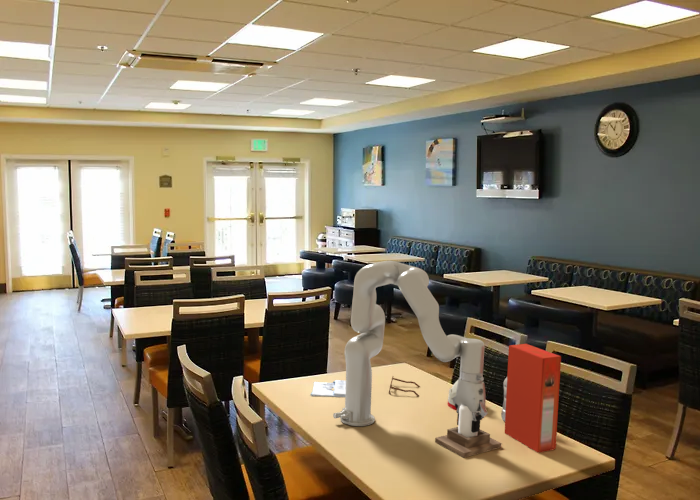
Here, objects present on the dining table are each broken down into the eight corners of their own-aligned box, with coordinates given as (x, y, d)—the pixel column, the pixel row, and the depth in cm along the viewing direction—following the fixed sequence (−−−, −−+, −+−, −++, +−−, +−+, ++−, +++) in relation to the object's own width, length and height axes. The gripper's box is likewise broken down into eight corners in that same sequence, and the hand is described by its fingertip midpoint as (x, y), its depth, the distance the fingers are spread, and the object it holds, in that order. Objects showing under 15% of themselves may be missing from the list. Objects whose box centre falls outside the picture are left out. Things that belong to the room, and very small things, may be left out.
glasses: (390, 385, 270) (390, 374, 269) (420, 387, 268) (420, 376, 268) (388, 395, 257) (388, 383, 256) (419, 397, 255) (420, 385, 255)
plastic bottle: (498, 418, 233) (501, 367, 231) (515, 418, 233) (518, 367, 231) (504, 425, 226) (507, 372, 224) (521, 425, 227) (525, 372, 225)
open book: (358, 399, 251) (358, 394, 251) (309, 397, 251) (309, 392, 251) (358, 384, 270) (358, 380, 270) (312, 383, 270) (313, 378, 270)
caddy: (463, 457, 197) (464, 444, 197) (435, 442, 209) (435, 429, 208) (501, 447, 206) (501, 434, 206) (471, 432, 218) (472, 420, 217)
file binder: (536, 452, 203) (542, 358, 200) (503, 433, 218) (508, 345, 215) (555, 449, 206) (561, 356, 203) (522, 430, 222) (527, 343, 219)
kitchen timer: (471, 398, 254) (473, 363, 253) (489, 410, 241) (491, 373, 240) (441, 401, 250) (443, 365, 249) (457, 413, 237) (459, 375, 236)
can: (477, 442, 204) (479, 407, 202) (457, 440, 205) (459, 405, 204) (477, 435, 210) (479, 401, 209) (458, 433, 211) (459, 399, 210)
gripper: (498, 381, 200) (495, 435, 202) (461, 367, 214) (458, 417, 216) (481, 385, 196) (478, 439, 198) (445, 370, 210) (442, 421, 212)
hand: (468, 427), depth 207 cm, fingers closed on can, 6 cm apart
